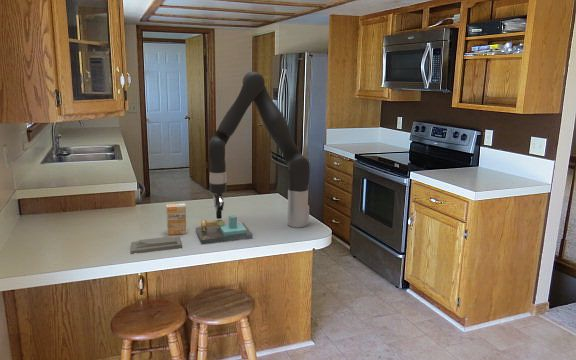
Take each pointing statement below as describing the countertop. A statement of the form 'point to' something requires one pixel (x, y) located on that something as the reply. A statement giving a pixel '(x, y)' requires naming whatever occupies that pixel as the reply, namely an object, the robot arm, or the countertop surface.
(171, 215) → the supplement box
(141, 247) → the soap mold
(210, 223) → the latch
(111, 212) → the countertop surface
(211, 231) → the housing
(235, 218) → the cover
